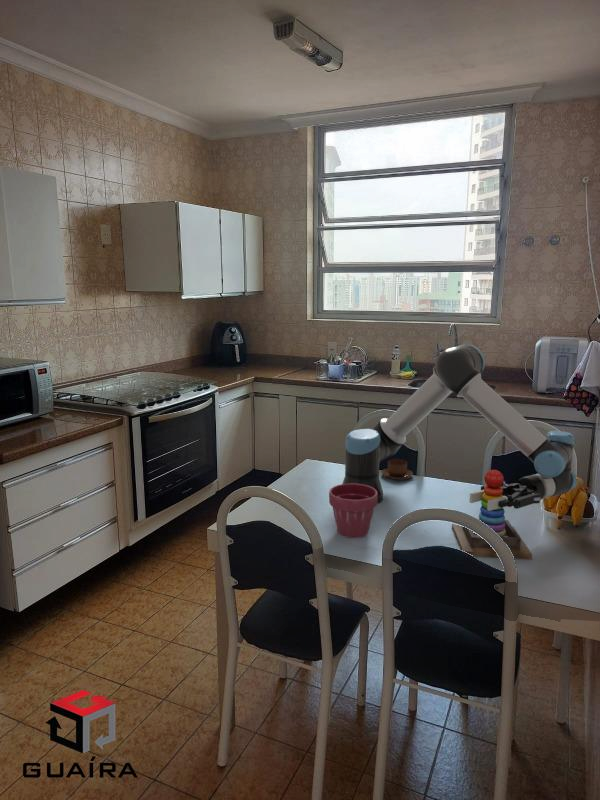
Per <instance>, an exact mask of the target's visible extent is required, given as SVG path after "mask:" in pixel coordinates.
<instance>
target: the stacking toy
mask: <svg viewBox="0 0 600 800" xmlns="http://www.w3.org/2000/svg"><path fill="white" fill-rule="evenodd" d="M503 481H505V480H504V475H503V473H501V472H500V471H499V470H497V469H490V470H488V471H486V473H485V474H484V483H485V485H487V486H485V487H484V492H485V493H484V494H483V496H482V498H483V499H482V501H480V505H481V506H480V508H479V510H480V511H479V514H478V517H479V518H478V519H479V520H481V521H482V522H484V523H485V524H487V525H488V526H489V527H490V528H492V529H493V530H494V531H495V532H496V533H497V534H498V535H499V536H500V537H503V536H504V535H505V534H506V530H505V522H504V521H505V520H506V517H505V508H504V507H502V508H498V509H494V510H490V511H489V510H487V505H488V500H492V499H496V498H500V497H503V496H502V495H501V494H502V493H503V489H502V488H501V487H500V486H501V485H502V484H503Z"/></svg>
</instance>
